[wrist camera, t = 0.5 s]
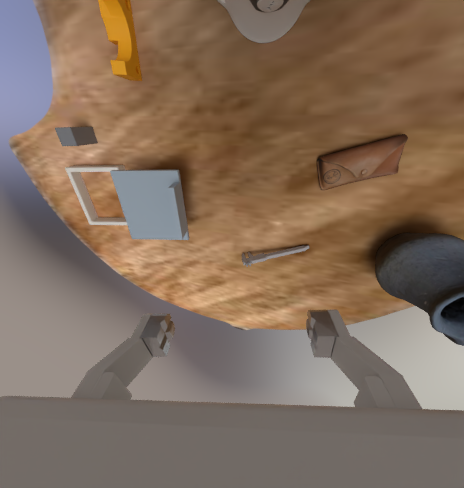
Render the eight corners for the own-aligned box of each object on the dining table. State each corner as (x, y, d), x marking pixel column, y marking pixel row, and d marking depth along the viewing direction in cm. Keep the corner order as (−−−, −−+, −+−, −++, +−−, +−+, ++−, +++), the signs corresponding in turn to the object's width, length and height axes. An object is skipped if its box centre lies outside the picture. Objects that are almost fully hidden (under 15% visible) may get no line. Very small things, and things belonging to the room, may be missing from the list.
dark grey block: (78, 127, 48) (54, 127, 42) (92, 126, 48) (70, 127, 42) (84, 143, 50) (62, 146, 44) (97, 143, 50) (77, 145, 44)
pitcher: (442, 207, 52) (576, 265, 31) (435, 268, 62) (534, 344, 41) (357, 232, 57) (422, 296, 36) (364, 284, 67) (417, 359, 46)
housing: (73, 165, 53) (64, 167, 50) (124, 165, 52) (117, 167, 49) (96, 220, 61) (89, 224, 59) (140, 220, 60) (135, 225, 58)
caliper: (242, 255, 64) (242, 267, 59) (242, 252, 63) (241, 265, 58) (308, 247, 60) (314, 259, 55) (308, 244, 60) (314, 256, 54)
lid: (112, 170, 44) (98, 175, 40) (179, 169, 43) (171, 174, 39) (134, 237, 53) (123, 247, 48) (189, 237, 52) (184, 248, 47)
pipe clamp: (106, -4, 36) (81, -27, 31) (129, -4, 36) (108, -26, 31) (122, 79, 43) (104, 73, 37) (142, 80, 43) (126, 74, 37)
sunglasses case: (321, 193, 50) (327, 181, 44) (313, 168, 52) (319, 153, 45) (400, 172, 47) (419, 157, 40) (390, 146, 48) (408, 127, 42)
